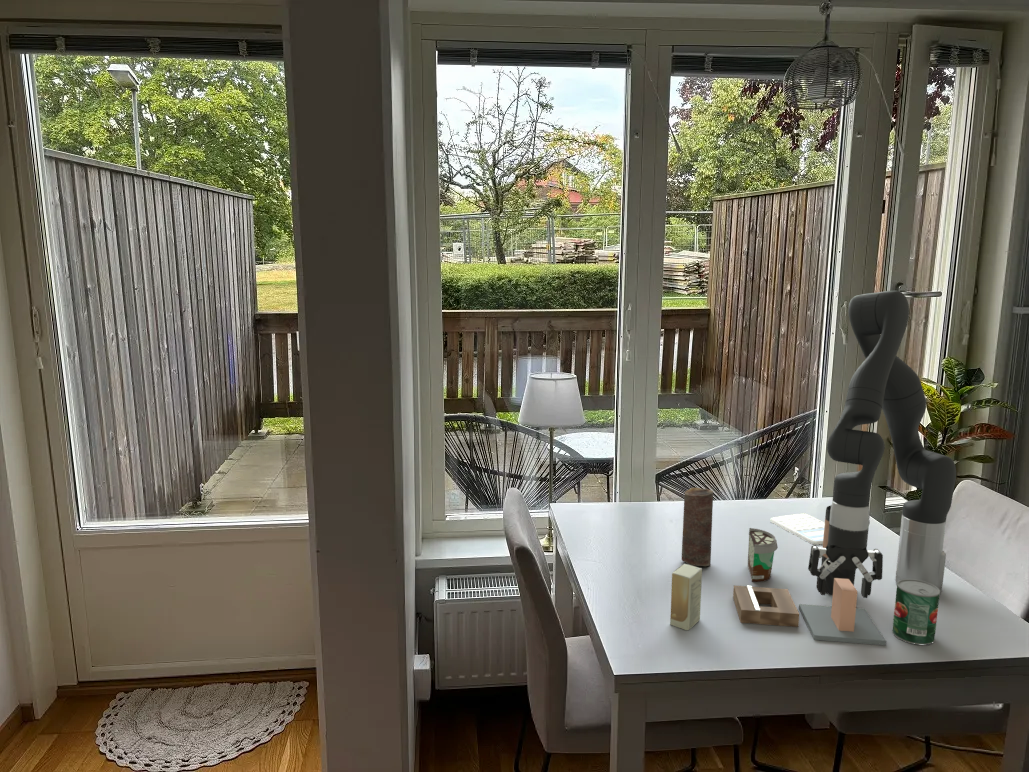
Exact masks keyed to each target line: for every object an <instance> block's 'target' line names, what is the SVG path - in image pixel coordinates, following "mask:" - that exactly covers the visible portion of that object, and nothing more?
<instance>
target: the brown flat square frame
mask: <svg viewBox="0 0 1029 772" xmlns="http://www.w3.org/2000/svg"><path fill="white" fill-rule="evenodd" d="M732 591H733V592H732V598H733V601H734V605H735V608H736V611H737V615H738V618H739V621H740V623H741V624H743V623H744V624H753V625H754V624H755V625H768V626H770V625H771V626H780V627H781V626H782V627H793V628H799V626H800V613H799V612H800V611H799V609H797V606H796V604H795V602H794V600H793V598H792V595H791V593H790V591H789V589H788V588H777V587H776V588H774V587H760V586H759V587H758V586H752V585H751V584H749V585H745V586H744V585H733V590H732ZM759 604H760V605H761V606H759ZM762 605H769V606H762Z"/></svg>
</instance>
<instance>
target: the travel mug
mask: <svg viewBox="0 0 1029 772" xmlns="http://www.w3.org/2000/svg"><path fill="white" fill-rule="evenodd" d="M831 506H832V504H831V505H828V506H826V509H825V518H824V523H825V526H824V537H823V544H822V548H826V546H827V544H828V534H829V522H830V511H831ZM827 558H828V556H827V555H826V554H823V555H822V557H821V566H822V565H823V562H824V561H825V560H826V559H827ZM821 566H820V567H821ZM856 571H857V569H855V570H854V571H853V570H848V569H844V570H839V569H838V568H836V569H835V570H834V571H833V572H832V573H829V574H828V575H827V576H826V577H825V579H826V589H825V594H828V595H830V596H833V586H834V578H841V579H849V580H850V581H851V583H852V584H853V586H854V587H855V579H856Z"/></svg>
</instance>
